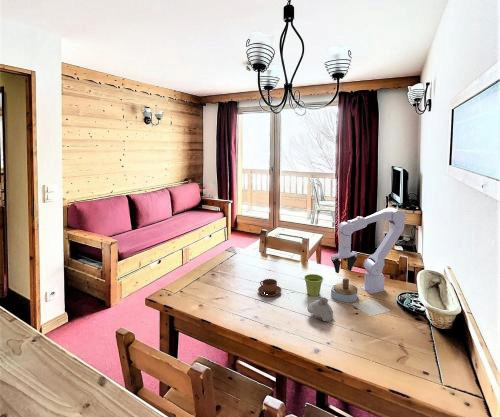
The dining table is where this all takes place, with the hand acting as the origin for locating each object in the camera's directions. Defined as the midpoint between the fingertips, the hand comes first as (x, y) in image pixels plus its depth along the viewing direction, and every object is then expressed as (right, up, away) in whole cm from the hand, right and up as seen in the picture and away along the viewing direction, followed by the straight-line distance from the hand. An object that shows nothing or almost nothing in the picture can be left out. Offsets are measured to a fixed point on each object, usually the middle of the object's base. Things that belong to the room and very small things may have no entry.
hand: (343, 271), depth 163 cm
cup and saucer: (-38, -11, +1) cm, 39 cm away
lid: (-1, -8, -6) cm, 10 cm away
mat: (+8, -14, -16) cm, 23 cm away
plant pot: (-16, -11, -1) cm, 19 cm away
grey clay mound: (-17, -15, -23) cm, 32 cm away
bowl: (-1, -12, -5) cm, 13 cm away
